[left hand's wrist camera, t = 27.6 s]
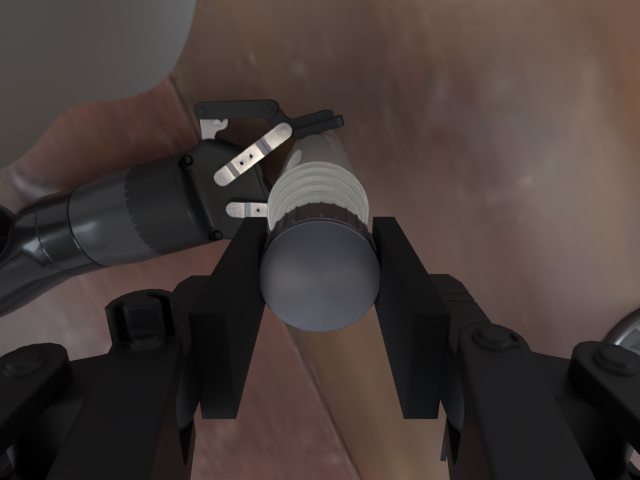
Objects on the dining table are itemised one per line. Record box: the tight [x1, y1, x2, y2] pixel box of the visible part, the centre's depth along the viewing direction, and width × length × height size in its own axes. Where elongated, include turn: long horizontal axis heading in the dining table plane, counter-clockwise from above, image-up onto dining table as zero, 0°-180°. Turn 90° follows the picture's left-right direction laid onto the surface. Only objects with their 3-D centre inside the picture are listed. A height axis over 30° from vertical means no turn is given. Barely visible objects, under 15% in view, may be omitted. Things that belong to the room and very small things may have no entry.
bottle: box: [267, 129, 369, 230], centre depth 25 cm, size 5×5×25 cm
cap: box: [259, 201, 381, 332], centre depth 13 cm, size 4×4×2 cm
